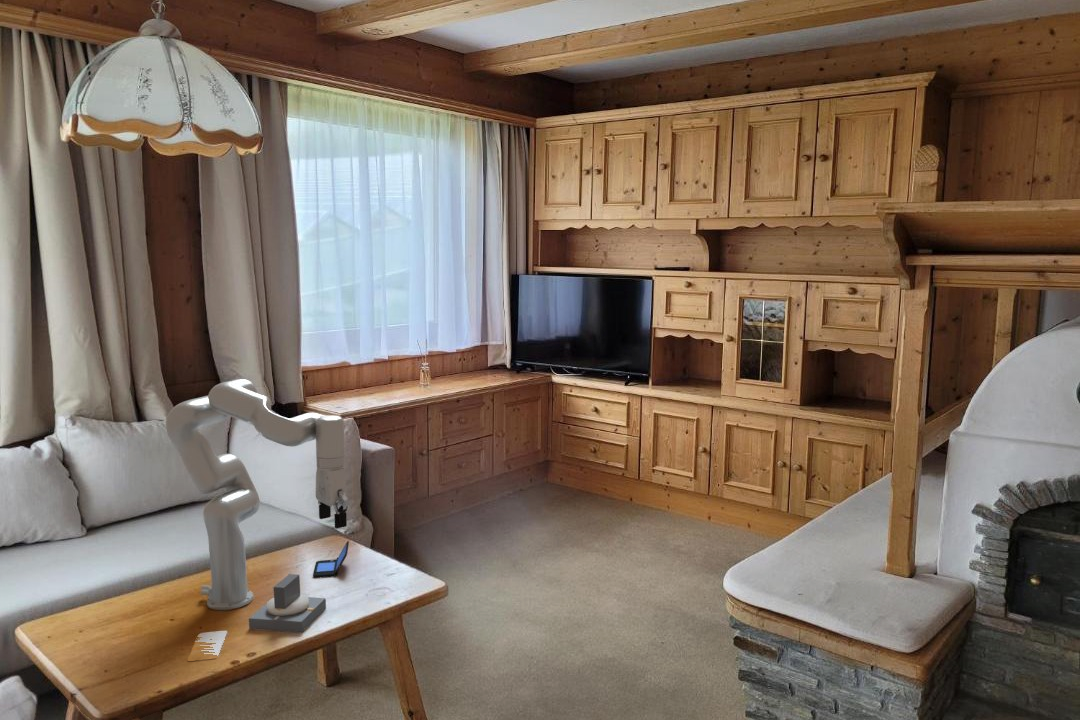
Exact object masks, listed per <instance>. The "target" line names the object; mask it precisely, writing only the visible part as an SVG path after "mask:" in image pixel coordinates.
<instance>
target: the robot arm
mask: <svg viewBox="0 0 1080 720" xmlns="http://www.w3.org/2000/svg"><path fill="white" fill-rule="evenodd" d="M271 410H272V401H271V400H270V398H269V397H268V396H267V395H263V394H260V393H258V391H257V387H256V386H255V385H254V384H253V382H252V381H250V380H248V379H246V378H245V379H244V378H237V379H232V380H229V381H224V382H220V383H218V384H216V385H214V386H213V387H212V388H211V389H210V391H209V392H208V395H204V396H201V397H197V398H196V397H195V398H192V399H188V400H185V401H182V402H180V403H178V404H176V405H175V406H174V407H172V408H171V409H170V411H169V412H168V415H167V417H166V421H165V429H166V432H167V435H168V436H167V437H169V439H170V441H171V443H172V444H173V446H174V447H175V449H176V450H177V452H178V454H179V456H180V459H181V460H182V463H183V464H184V467H185V470H186V471H187V473H188V475H189V477H190V479H191V482H192V484H193V486H194V487H195V489H196V490H197V491H198V492H199V493H200V494H203V495H209V494H213V493H216V492H218V491H221V490H224V493H221V494H219V495H217V496H215V497H213V498H212V499H211V500H209V501H208V502H207V503H206V505H205V506H204V508H203V511H202V517H203V522H204V526H205V529H206V535H207V539H208V541H207V542H208V551H209V563H210V565H209V566H210V580H211V585H209V584H202V586H201V589H200V595H204V596H206V595H207V596H208V598H207V600H206V606H207V607H208V608H209V609H212V610H216V611H230V610H234V609H239V608H241V607H244V606H246V605H248V604H250V603H252V601H253V600H254V598H255V597H254V592H253V591H252V590H249V589H248V579H247V578H248V576H247V575H248V574H247V559H246V547H245V546H246V544H245V537H244V535H243V533H242V531H241V529H240V526H239V524H240V523H242V522H244V521H245V520H247V519H249V518H250V519H251V517H252V516H254V515H256V514H257V512H258V511H259V510H260V502H261V501H260V497H259V493H258V491H257V489H256V487H255V485H254V483H253V480H252V479H251V478H252V477H251V475H250V473H249V472H248V470H247V468H246V466H245V464H244V463H243V462H242V460H241V459H240V458H239V457H237V456H236V455H235V454H231V453H223V454H222V453H221V454H220V455H217V454H216V452H215V451H214V449H213V447H212V444H211V443H210V441H209V440H208V438H206V437H205V436H204V435H203V434H202V433H201V432H199V431H198V430H199V429H201V428H205V427H208V426H212V425H215V424H218V423H221V422H223V421H225V420H227V419H229V418H230V417H231V418H234V419H237V420H239V421H242V422H244V423H247V424H249V425H252V426H253V427H254V429H255V430H256V432H258V434H260V435H261V436H262V437H263V438H264V439H267V440H269V441H271V442H274V443H277V444H278V445H282V446H286V447H298V446H301V445H303V444H305V443H309V442H311V441H315V450H316V451H315V454H316V456H315V457H316V458H315V459H316V470H315V471H316V472H315V498H316V500H317V504H318V518H319V519H320V520H323V519H324V520H325V519H327V518H331V516H332V515H331V513H332V512H331V508H332V507H333V508H334V511H335V513H334V515H333V516H334V529H342V528H346V527H347V525H348V523H347V522H348V521H347V520H348V519H347V513H348V508H349V507H348V506H349V499H348V497H347V482H346V481H347V480H346V474H345V473H346V472H345V467H346V447H345V445H346V444H345V443H346V438H345V421H344V419H343V417H342V416H339V415H334V414H332V415H324V414H321V413H320V414H319V413H316V412H305V413H302V414H300V415H297V416H293V417H290V418H288V417H285V416H282V415H280V414H277V413H274V412H273V411H271Z"/></svg>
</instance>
